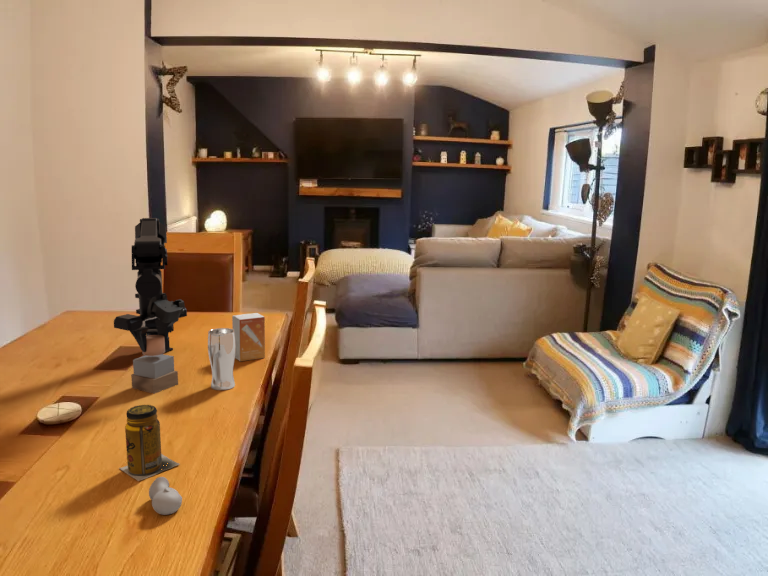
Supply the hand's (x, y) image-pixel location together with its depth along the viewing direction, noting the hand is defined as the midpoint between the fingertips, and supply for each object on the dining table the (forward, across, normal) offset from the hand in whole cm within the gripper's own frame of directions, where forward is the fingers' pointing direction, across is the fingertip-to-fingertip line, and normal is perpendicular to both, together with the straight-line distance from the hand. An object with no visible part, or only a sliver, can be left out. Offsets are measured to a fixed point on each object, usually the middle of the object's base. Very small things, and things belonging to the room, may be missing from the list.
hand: (153, 348), depth 155 cm
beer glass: (+10, +9, -15) cm, 20 cm away
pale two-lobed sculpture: (+10, -39, -47) cm, 62 cm away
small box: (+10, +32, -4) cm, 34 cm away
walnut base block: (+10, 0, 0) cm, 11 cm away
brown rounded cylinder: (+1, 0, 0) cm, 1 cm away
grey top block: (+6, 0, 0) cm, 7 cm away
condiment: (+10, -31, -34) cm, 47 cm away
